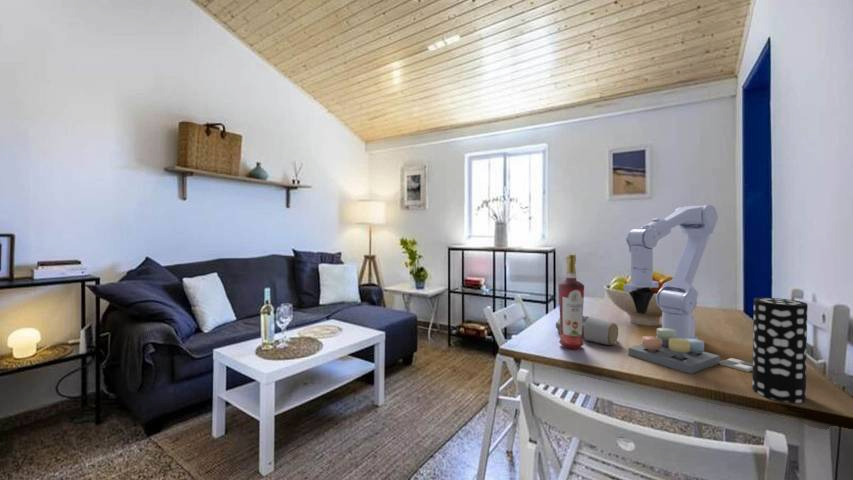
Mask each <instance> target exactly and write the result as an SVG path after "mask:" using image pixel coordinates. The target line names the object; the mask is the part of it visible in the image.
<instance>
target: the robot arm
mask: <svg viewBox="0 0 853 480" xmlns="http://www.w3.org/2000/svg"><path fill="white" fill-rule="evenodd" d="M718 218H719V216H718V212H717V209H716V207H715V206H714V205H713V204H706V205H705V204H704V205H687V206H685V205H684V206H683V205H682V206H679V207H678V208H677V207H676V208H675V210H674V212H672V213H670V215H668V216H666V217H665V218H660V217H654V218H652V219H651V222H648V223H647V224H642V226H641V227H640V228H634V229H631V230H630V231H629V232H628V233H627V236H626V238H625V241H626V244H627V246H628V251H629V253H630V282H628V283H625V284H623V292H628V293H629V294H630V296H631V298H632V301H633V303H634V307H635V310H636V313H637V314H641V315H645V314H647V312H648V307H649V304H650V302H651V300H652V297H653V296H654V294H655V292H656V291H655V289H657V288H658V289H659V281H657V280H653V278H654V277H653V276H654V275H653V272H654V271H653V270H654V269H653V268H654V267H653V266H654V265H653V261H654V260H653V258H654V257H653V255H654V253H653V250H654V248H655V247H657V245H658V242H659V241H660V240H662V239H663V238H664V237H667V236H668V235H669V234H670V233H671V232H672V229H673V228H675V227H678V226H679V227H680V229H681V232H682V233H684V234H685V235H687V236H688V238H687V240H686V242H685V245H684V248H683V250H682V252H681V253H682V254H681V256H680V259H679V260H678V261H679V262H678V263H677V265H676V268H675V272H674V274H673V277H672V279H671V280H668V281H666V282H664V283H663V284H662V286H661V288H660V289H659V290H658V291H657V293H656V294H655V301H656V305H657V306H658V307H659V309H660V311H661V312H662V313H661V315H662V318H661V319H662V321H661V322H662V323H661V325H662V326H661V328H669V329H673V330H675V331H676V338H682V339H686V338H690V339H697V340H699V337H697V336H696V335H695V334H696V319H695V316H694V314H693V312H695V310H696V308H697V305H698V296H699V292H698V290H697V289H696V288H695V287H694V286H693V282H694V279H695V277H696V275H697V271H698V269H699V267H700V264H701V260H702V259H703V255H704V253H705V250H706V247H707V244H708V242H709V240H710V236H711V234H713V233H714V229H715V227H716V224H717V222H718V220H719V219H718ZM653 288H655V289H653ZM655 337H657V335H656V336H655Z"/></svg>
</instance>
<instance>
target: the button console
mask: <svg viewBox="0 0 853 480" xmlns="http://www.w3.org/2000/svg"><path fill="white" fill-rule="evenodd" d="M628 355H629V356H630V357H635V358H637V359H641V360H644V361H647V362H650V363H654V364H657V365H661V366H664V367H667V368H671V369H672V370H673V369H675V370H677V371H681V372H684V373H687V374H689V375H692V374H694V373H697V372H700V371H703V370H705V369H708V368H710V367H712V366H717V365H719V364H720V355H718V354H714V353H712V352H711V353H710V352H707V351H704V352H702V353H698V356H695V355H692V354H689V352H684V360H678V359H675V351H673V350H670V349H669V348H665V347H662V349H660V350H656V353H653V352H649V351H648V349H647V348H644V347H643V346H642V343H641V344H638V345H634V346H631V347H628Z"/></svg>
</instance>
